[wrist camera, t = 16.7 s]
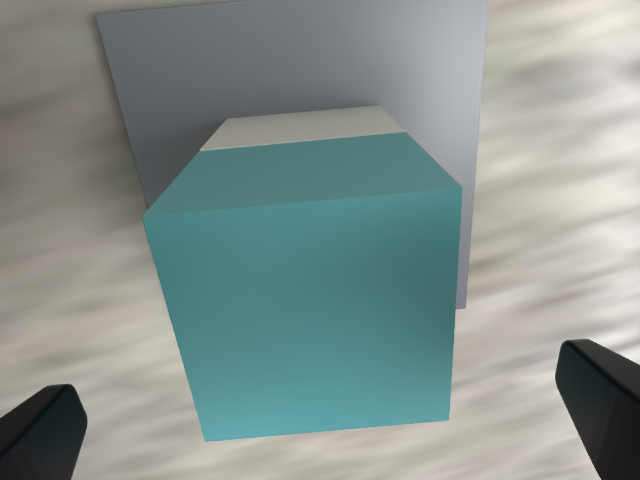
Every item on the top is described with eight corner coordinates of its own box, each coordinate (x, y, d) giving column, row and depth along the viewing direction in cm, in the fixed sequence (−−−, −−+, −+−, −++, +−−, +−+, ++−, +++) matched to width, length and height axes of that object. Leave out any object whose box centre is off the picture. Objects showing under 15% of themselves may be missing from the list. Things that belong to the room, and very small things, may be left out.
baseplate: (456, 291, 23) (465, 308, 21) (188, 315, 23) (181, 333, 22) (474, -18, 17) (490, -23, 15) (111, 15, 17) (95, 14, 15)
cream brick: (382, 242, 20) (405, 304, 15) (250, 253, 20) (233, 319, 15) (379, 105, 17) (406, 131, 13) (227, 118, 17) (199, 149, 13)
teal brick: (405, 305, 15) (449, 420, 11) (234, 320, 15) (205, 441, 11) (405, 131, 13) (462, 187, 8) (199, 150, 13) (141, 216, 8)
